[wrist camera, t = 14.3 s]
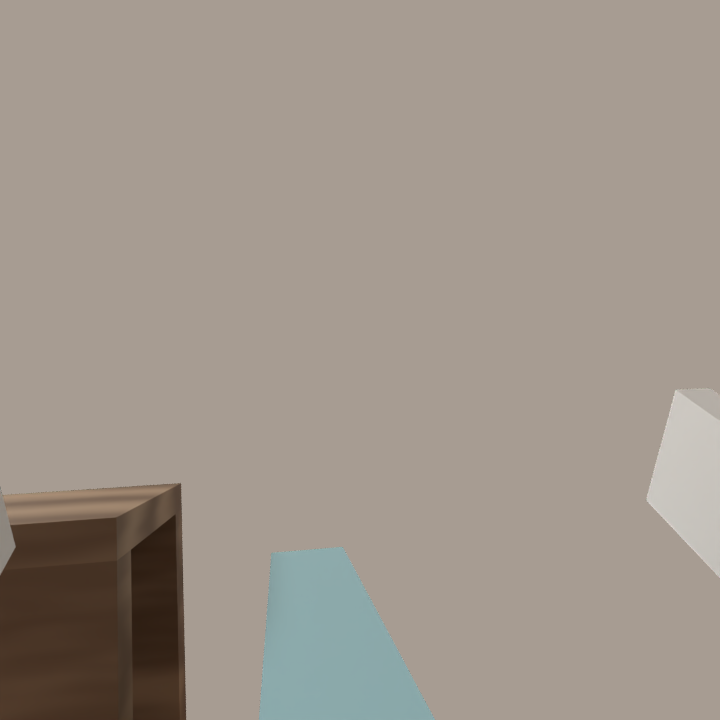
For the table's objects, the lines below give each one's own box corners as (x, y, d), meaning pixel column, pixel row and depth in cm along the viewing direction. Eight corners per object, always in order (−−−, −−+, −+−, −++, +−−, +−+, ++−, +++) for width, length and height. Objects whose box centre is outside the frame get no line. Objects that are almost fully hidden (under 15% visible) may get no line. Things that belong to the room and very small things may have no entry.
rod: (505, 1077, 10) (486, 815, 10) (258, 1131, 9) (249, 851, 10) (346, 620, 33) (342, 547, 34) (274, 627, 33) (271, 552, 33)
